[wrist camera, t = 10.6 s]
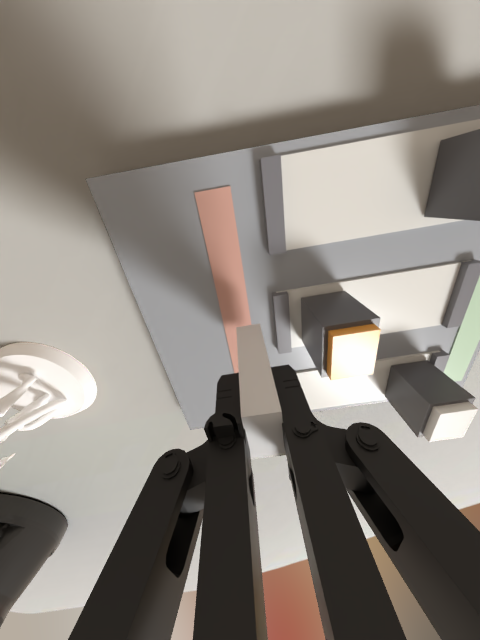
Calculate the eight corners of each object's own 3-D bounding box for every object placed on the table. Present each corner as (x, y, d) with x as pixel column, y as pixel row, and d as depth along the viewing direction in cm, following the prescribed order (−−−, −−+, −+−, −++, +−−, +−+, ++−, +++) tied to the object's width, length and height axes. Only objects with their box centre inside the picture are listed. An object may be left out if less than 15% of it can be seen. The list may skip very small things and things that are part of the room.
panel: (192, 414, 23) (188, 436, 21) (102, 181, 13) (77, 177, 11) (444, 377, 22) (468, 396, 20) (551, 97, 12) (621, 74, 10)
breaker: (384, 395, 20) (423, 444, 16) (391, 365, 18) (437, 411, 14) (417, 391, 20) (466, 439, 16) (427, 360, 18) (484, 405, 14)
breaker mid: (301, 340, 17) (325, 385, 13) (300, 297, 15) (327, 332, 11) (341, 334, 17) (377, 377, 13) (344, 290, 15) (387, 323, 11)
